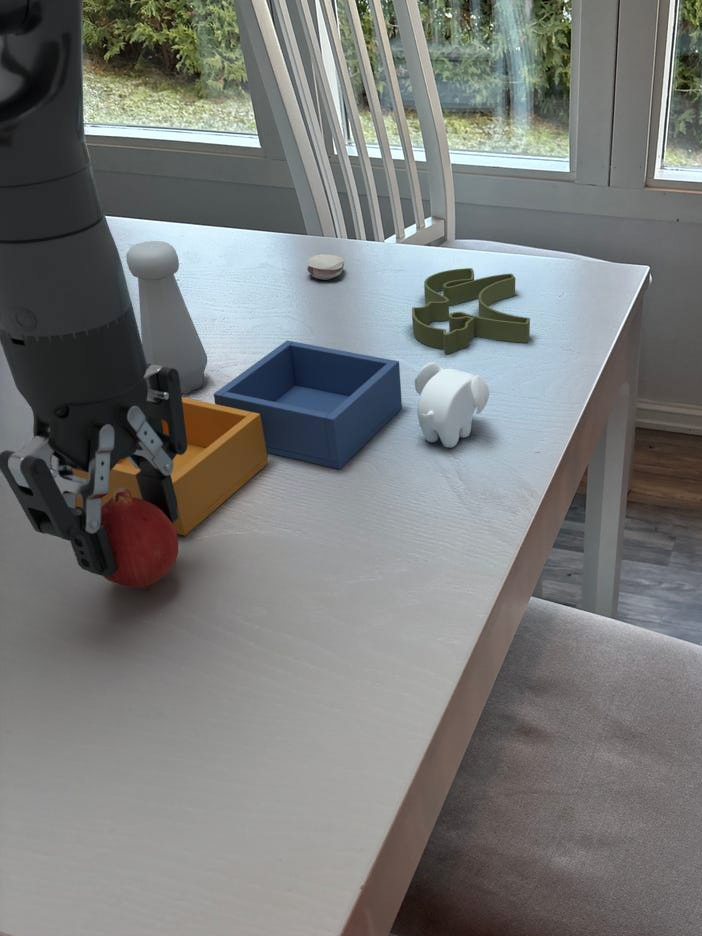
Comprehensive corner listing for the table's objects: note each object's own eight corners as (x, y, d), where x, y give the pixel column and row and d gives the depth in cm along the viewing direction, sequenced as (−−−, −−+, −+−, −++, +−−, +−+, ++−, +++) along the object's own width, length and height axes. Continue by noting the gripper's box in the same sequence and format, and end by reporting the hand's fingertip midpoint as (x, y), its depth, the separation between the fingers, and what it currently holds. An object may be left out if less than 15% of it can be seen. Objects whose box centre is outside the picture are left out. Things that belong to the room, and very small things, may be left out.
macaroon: (301, 277, 112) (298, 256, 110) (331, 265, 115) (328, 244, 113) (327, 286, 110) (325, 264, 108) (357, 273, 113) (355, 251, 111)
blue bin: (222, 442, 83) (212, 393, 80) (293, 386, 91) (286, 339, 88) (339, 469, 79) (333, 419, 76) (402, 408, 88) (399, 360, 84)
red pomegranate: (120, 623, 65) (87, 524, 59) (91, 581, 68) (58, 484, 63) (201, 591, 67) (176, 494, 62) (169, 552, 71) (143, 457, 65)
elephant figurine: (508, 426, 85) (509, 363, 81) (457, 466, 80) (455, 400, 76) (445, 407, 88) (443, 345, 84) (392, 444, 83) (388, 379, 79)
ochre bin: (64, 503, 76) (46, 452, 73) (156, 436, 84) (143, 388, 81) (185, 536, 72) (171, 484, 69) (269, 463, 80) (260, 413, 77)
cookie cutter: (533, 350, 97) (534, 331, 95) (415, 355, 96) (414, 336, 95) (513, 284, 110) (513, 266, 109) (409, 288, 109) (408, 270, 108)
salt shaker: (143, 378, 92) (108, 240, 84) (202, 366, 94) (173, 229, 86) (157, 403, 88) (122, 261, 80) (218, 390, 90) (190, 250, 82)
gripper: (94, 253, 60) (155, 482, 71) (-90, 342, 50) (14, 592, 61) (192, 270, 58) (239, 504, 69) (20, 366, 48) (108, 621, 59)
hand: (133, 544), depth 65 cm, fingers closed on red pomegranate, 6 cm apart
